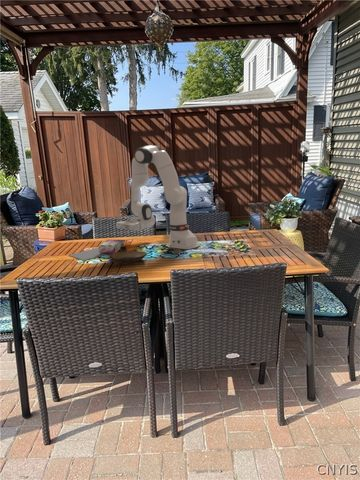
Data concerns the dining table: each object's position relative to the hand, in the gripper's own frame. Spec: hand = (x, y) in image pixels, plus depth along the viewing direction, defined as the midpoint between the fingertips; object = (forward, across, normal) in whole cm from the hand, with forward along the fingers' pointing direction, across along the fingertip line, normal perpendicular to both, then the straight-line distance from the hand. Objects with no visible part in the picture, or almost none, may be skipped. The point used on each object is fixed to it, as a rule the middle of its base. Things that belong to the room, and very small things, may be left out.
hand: (118, 227), depth 245 cm
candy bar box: (+3, +1, +10) cm, 11 cm away
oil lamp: (+16, +33, +14) cm, 39 cm away
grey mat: (+20, 0, +14) cm, 25 cm away
